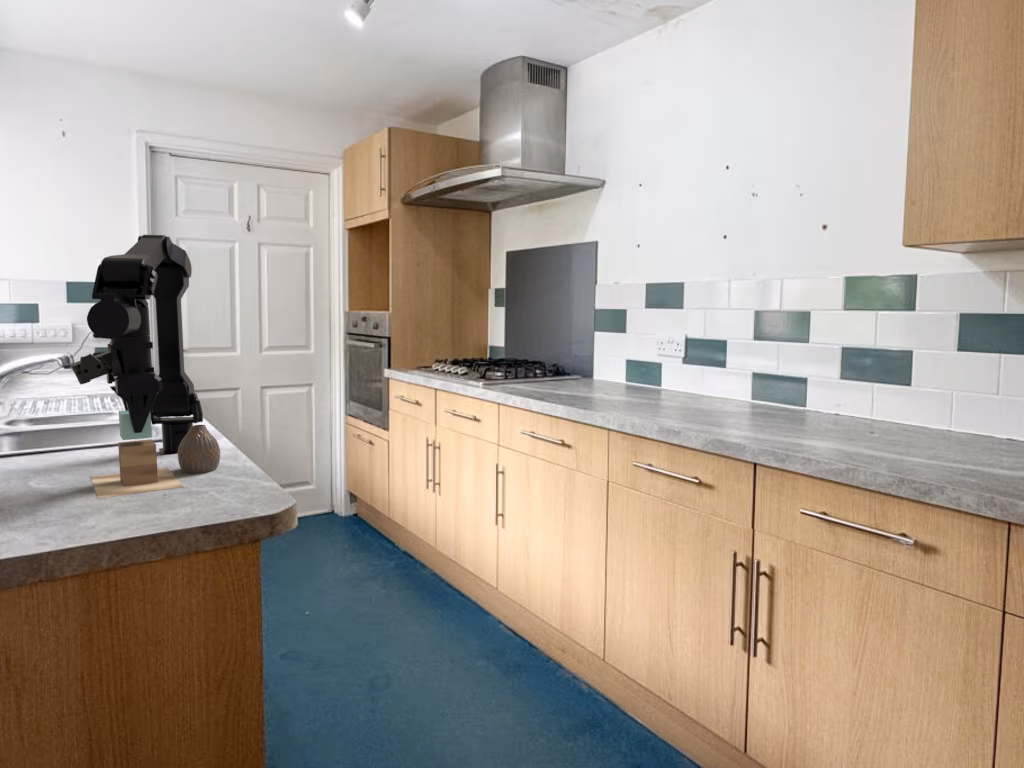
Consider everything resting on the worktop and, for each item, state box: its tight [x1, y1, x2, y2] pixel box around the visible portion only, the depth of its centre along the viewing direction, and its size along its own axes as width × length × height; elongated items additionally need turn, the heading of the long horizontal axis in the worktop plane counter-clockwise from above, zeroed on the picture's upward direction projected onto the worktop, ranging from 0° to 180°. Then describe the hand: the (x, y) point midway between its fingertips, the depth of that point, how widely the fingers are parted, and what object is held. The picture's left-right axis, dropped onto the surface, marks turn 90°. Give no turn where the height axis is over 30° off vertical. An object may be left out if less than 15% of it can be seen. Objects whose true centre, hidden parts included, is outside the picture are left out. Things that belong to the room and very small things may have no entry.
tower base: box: [118, 461, 158, 487], centre depth 117 cm, size 5×5×3 cm
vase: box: [177, 424, 221, 475], centre depth 125 cm, size 7×7×9 cm
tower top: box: [117, 438, 158, 467], centre depth 116 cm, size 5×5×3 cm
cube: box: [118, 410, 153, 441], centre depth 116 cm, size 4×4×4 cm
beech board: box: [90, 467, 185, 500], centre depth 117 cm, size 16×12×1 cm
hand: (136, 430), depth 116 cm, fingers closed on cube, 4 cm apart
